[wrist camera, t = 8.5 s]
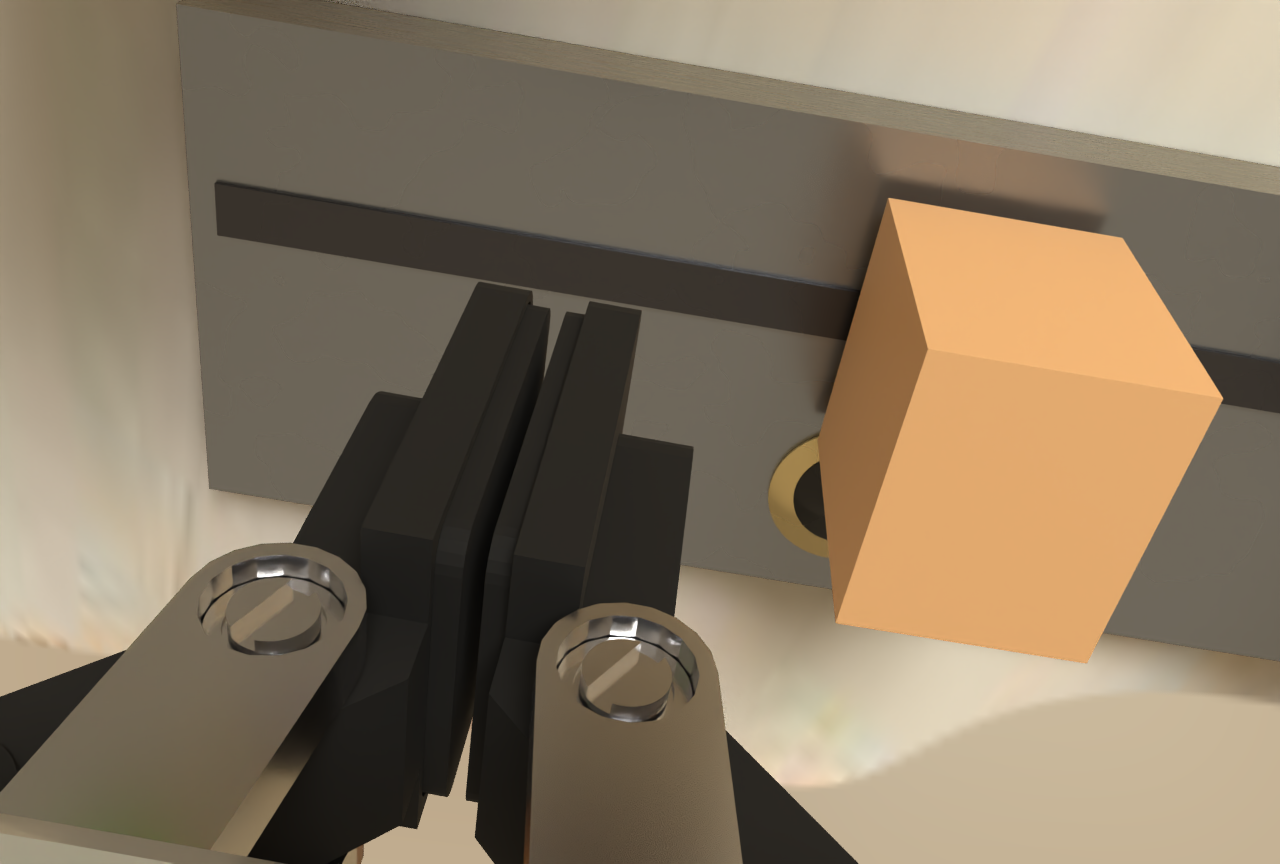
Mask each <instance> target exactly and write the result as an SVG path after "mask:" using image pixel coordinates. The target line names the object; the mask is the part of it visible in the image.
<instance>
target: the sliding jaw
mask: <svg viewBox="0 0 1280 864" xmlns="http://www.w3.org/2000/svg"><path fill="white" fill-rule="evenodd" d="M1222 400H1223V397H1222V396H1221V394H1220V392H1219V391H1218V389H1217V388H1216V386H1215V384H1214V383H1213V381H1212V380H1211V378H1210V376H1209V375H1208V373H1207V372H1206V370H1205V368H1204V367H1203V365H1202V364H1201V362H1200V360H1199V359H1198V357H1197V356H1196V354H1195V353H1194V351H1193V349H1192V348H1191V346H1190V345H1189V343H1188V341H1187V340H1186V338H1185V337H1184V335H1183V333H1182V332H1181V330H1180V329H1179V327H1178V325H1177V324H1176V322H1175V321H1174V319H1173V317H1172V316H1171V314H1170V313H1169V311H1168V309H1167V308H1166V306H1165V305H1164V303H1163V302H1162V300H1161V298H1160V297H1159V295H1158V294H1157V292H1156V290H1155V289H1154V287H1153V286H1152V284H1151V282H1150V281H1149V279H1148V278H1147V276H1146V274H1145V273H1144V271H1143V270H1142V268H1141V266H1140V265H1139V263H1138V262H1137V260H1136V259H1135V257H1134V255H1133V254H1132V252H1131V251H1130V249H1129V247H1128V246H1127V244H1126V243H1125V241H1124V239H1123V238H1120V237H1114V236H1109V235H1103V234H1097V233H1091V232H1085V231H1079V230H1074V229H1068V228H1062V227H1056V226H1050V225H1045V224H1039V223H1033V222H1027V221H1021V220H1015V219H1010V218H1004V217H998V216H992V215H986V214H980V213H975V212H969V211H963V210H957V209H951V208H945V207H940V206H934V205H928V204H922V203H916V202H910V201H905V200H899V199H893V198H888V200H887V204H886V207H885V210H884V214H883V217H882V221H881V224H880V228H879V231H878V234H877V238H876V241H875V245H874V248H873V252H872V255H871V259H870V262H869V265H868V269H867V272H866V276H865V279H864V283H863V286H862V290H861V293H860V296H859V300H858V303H857V307H856V310H855V314H854V317H853V320H852V324H851V327H850V331H849V334H848V338H847V341H846V345H845V348H844V351H843V355H842V358H841V362H840V365H839V369H838V372H837V376H836V379H835V382H834V386H833V389H832V393H831V396H830V400H829V403H828V406H827V410H826V413H825V417H824V420H823V424H822V427H821V431H820V434H819V437H818V450H819V460H820V470H821V480H822V491H823V501H824V511H825V521H826V531H827V541H828V551H829V561H830V572H831V582H832V592H833V602H834V612H835V622H836V623H838V624H844V625H850V626H857V627H863V628H869V629H875V630H882V631H888V632H894V633H900V634H907V635H913V636H919V637H925V638H932V639H938V640H944V641H950V642H956V643H963V644H969V645H975V646H981V647H988V648H994V649H1000V650H1006V651H1013V652H1019V653H1025V654H1031V655H1038V656H1044V657H1050V658H1056V659H1062V660H1069V661H1075V662H1081V663H1087V662H1088V660H1089V658H1090V656H1091V654H1092V652H1093V650H1094V648H1095V646H1096V645H1097V643H1098V641H1099V639H1100V637H1101V635H1102V633H1103V631H1104V629H1105V627H1106V625H1107V623H1108V621H1109V619H1110V617H1111V615H1112V614H1113V612H1114V610H1115V608H1116V606H1117V604H1118V602H1119V600H1120V598H1121V596H1122V594H1123V592H1124V590H1125V588H1126V586H1127V584H1128V583H1129V581H1130V579H1131V577H1132V575H1133V573H1134V571H1135V569H1136V567H1137V565H1138V563H1139V561H1140V559H1141V557H1142V555H1143V553H1144V551H1145V550H1146V548H1147V546H1148V544H1149V542H1150V540H1151V538H1152V536H1153V534H1154V532H1155V530H1156V528H1157V526H1158V524H1159V522H1160V520H1161V519H1162V517H1163V515H1164V513H1165V511H1166V509H1167V507H1168V505H1169V503H1170V501H1171V499H1172V497H1173V495H1174V493H1175V491H1176V489H1177V488H1178V486H1179V484H1180V482H1181V480H1182V478H1183V476H1184V474H1185V472H1186V470H1187V468H1188V466H1189V464H1190V462H1191V460H1192V458H1193V457H1194V455H1195V453H1196V451H1197V449H1198V447H1199V445H1200V443H1201V441H1202V439H1203V437H1204V435H1205V433H1206V431H1207V429H1208V427H1209V426H1210V424H1211V422H1212V420H1213V418H1214V416H1215V414H1216V412H1217V410H1218V408H1219V406H1220V404H1221V402H1222Z"/></svg>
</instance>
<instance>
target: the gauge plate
mask: <svg viewBox="0 0 1280 864" xmlns="http://www.w3.org/2000/svg"><path fill="white" fill-rule="evenodd" d="M176 7H177V21H178V36H179V51H180V65H181V80H182V95H183V110H184V124H185V139H186V154H187V168H188V183H189V198H190V213H191V227H192V242H193V257H194V272H195V286H196V301H197V316H198V330H199V345H200V360H201V375H202V389H203V404H204V419H205V434H206V448H207V463H208V478H209V489H214V490H220V491H227V492H233V493H239V494H245V495H251V496H258V497H264V498H270V499H276V500H282V501H289V502H295V503H301V504H307V505H314V504H315V502H316V500H317V498H318V496H319V494H320V493H321V491H322V489H323V487H324V485H325V483H326V481H327V480H328V478H329V476H330V474H331V472H332V470H333V468H334V467H335V465H336V463H337V461H338V459H339V457H340V456H341V454H342V452H343V450H344V448H345V446H346V444H347V443H348V441H349V439H350V437H351V435H352V433H353V431H354V430H355V428H356V426H357V424H358V422H359V420H360V419H361V417H362V415H363V413H364V411H365V409H366V407H367V406H368V404H369V402H370V400H371V399H372V397H373V396H374V395H375V393H377V392H379V391H384V392H390V393H395V394H401V395H407V396H412V397H418V398H423V396H424V394H425V392H426V389H427V387H428V385H429V383H430V381H431V379H432V377H433V375H434V373H435V371H436V368H437V366H438V364H439V362H440V360H441V358H442V356H443V354H444V352H445V349H446V347H447V345H448V343H449V341H450V339H451V337H452V335H453V333H454V331H455V328H456V326H457V324H458V322H459V320H460V318H461V316H462V314H463V312H464V309H465V307H466V305H467V303H468V301H469V299H470V297H471V295H472V293H473V291H474V288H475V286H476V285H477V283H478V282H485V283H491V284H496V285H502V286H508V287H513V288H519V289H525V290H530V291H532V293H533V305H534V306H540V307H546V308H550V310H551V317H550V328H549V337H548V345H547V354H546V363H545V372H544V377H545V374H546V371H547V368H548V365H549V362H550V359H551V356H552V353H553V350H554V347H555V344H556V341H557V338H558V334H559V331H560V328H561V325H562V322H563V319H564V316H565V313H566V312H567V311H568V312H574V313H580V314H585V313H586V310H587V307H588V304H589V301H592V302H598V303H604V304H609V305H615V306H621V307H626V308H632V309H638V310H642V315H641V322H640V328H639V334H638V340H637V347H636V353H635V359H634V365H633V371H632V377H631V383H630V390H629V396H628V402H627V408H626V414H625V420H624V426H623V433H622V434H626V435H632V436H637V437H643V438H648V439H654V440H660V441H665V442H671V443H677V444H682V445H688V446H693V447H694V452H693V462H692V470H691V479H690V487H689V495H688V504H687V512H686V521H685V529H684V538H683V546H682V555H681V563H680V565H685V566H692V567H698V568H704V569H710V570H716V571H723V572H729V573H735V574H741V575H747V576H754V577H760V578H766V579H772V580H778V581H785V582H791V583H797V584H803V585H809V586H816V587H822V588H828V589H832V582H831V572H830V561H829V551H828V541H827V531H826V521H825V511H824V501H823V491H822V480H821V470H820V460H819V450H818V437H819V434H820V431H821V427H822V424H823V420H824V417H825V413H826V410H827V406H828V403H829V400H830V396H831V393H832V389H833V386H834V382H835V379H836V376H837V372H838V369H839V365H840V362H841V358H842V355H843V351H844V348H845V345H846V341H847V338H848V334H849V331H850V327H851V324H852V320H853V317H854V314H855V310H856V307H857V303H858V300H859V296H860V293H861V290H862V286H863V283H864V279H865V276H866V272H867V269H868V265H869V262H870V259H871V255H872V252H873V248H874V245H875V241H876V238H877V234H878V231H879V228H880V224H881V221H882V217H883V214H884V210H885V207H886V204H887V200H888V198H893V199H899V200H905V201H910V202H916V203H922V204H928V205H934V206H940V207H945V208H951V209H957V210H963V211H969V212H975V213H980V214H986V215H992V216H998V217H1004V218H1010V219H1015V220H1021V221H1027V222H1033V223H1039V224H1045V225H1050V226H1056V227H1062V228H1068V229H1074V230H1079V231H1085V232H1091V233H1097V234H1103V235H1109V236H1114V237H1120V238H1123V239H1124V241H1125V243H1126V244H1127V246H1128V247H1129V249H1130V251H1131V252H1132V254H1133V255H1134V257H1135V259H1136V260H1137V262H1138V263H1139V265H1140V266H1141V268H1142V270H1143V271H1144V273H1145V274H1146V276H1147V278H1148V279H1149V281H1150V282H1151V284H1152V286H1153V287H1154V289H1155V290H1156V292H1157V294H1158V295H1159V297H1160V298H1161V300H1162V302H1163V303H1164V305H1165V306H1166V308H1167V309H1168V311H1169V313H1170V314H1171V316H1172V317H1173V319H1174V321H1175V322H1176V324H1177V325H1178V327H1179V329H1180V330H1181V332H1182V333H1183V335H1184V337H1185V338H1186V340H1187V341H1188V343H1189V345H1190V346H1191V348H1192V349H1193V351H1194V353H1195V354H1196V356H1197V357H1198V359H1199V360H1200V362H1201V364H1202V365H1203V367H1204V368H1205V370H1206V372H1207V373H1208V375H1209V376H1210V378H1211V380H1212V381H1213V383H1214V384H1215V386H1216V388H1217V389H1218V391H1219V392H1220V394H1221V396H1222V397H1223V400H1222V402H1221V404H1220V406H1219V408H1218V410H1217V412H1216V414H1215V416H1214V418H1213V420H1212V422H1211V424H1210V426H1209V427H1208V429H1207V431H1206V433H1205V435H1204V437H1203V439H1202V441H1201V443H1200V445H1199V447H1198V449H1197V451H1196V453H1195V455H1194V457H1193V458H1192V460H1191V462H1190V464H1189V466H1188V468H1187V470H1186V472H1185V474H1184V476H1183V478H1182V480H1181V482H1180V484H1179V486H1178V488H1177V489H1176V491H1175V493H1174V495H1173V497H1172V499H1171V501H1170V503H1169V505H1168V507H1167V509H1166V511H1165V513H1164V515H1163V517H1162V519H1161V520H1160V522H1159V524H1158V526H1157V528H1156V530H1155V532H1154V534H1153V536H1152V538H1151V540H1150V542H1149V544H1148V546H1147V548H1146V550H1145V551H1144V553H1143V555H1142V557H1141V559H1140V561H1139V563H1138V565H1137V567H1136V569H1135V571H1134V573H1133V575H1132V577H1131V579H1130V581H1129V583H1128V584H1127V586H1126V588H1125V590H1124V592H1123V594H1122V596H1121V598H1120V600H1119V602H1118V604H1117V606H1116V608H1115V610H1114V612H1113V614H1112V615H1111V617H1110V619H1109V621H1108V623H1107V625H1106V627H1105V629H1104V631H1103V633H1107V634H1113V635H1119V636H1126V637H1132V638H1138V639H1144V640H1150V641H1157V642H1163V643H1169V644H1175V645H1181V646H1188V647H1194V648H1200V649H1206V650H1212V651H1219V652H1225V653H1231V654H1237V655H1243V656H1250V657H1256V658H1262V659H1268V660H1274V661H1280V167H1275V166H1270V165H1264V164H1258V163H1253V162H1247V161H1241V160H1235V159H1230V158H1224V157H1218V156H1212V155H1207V154H1201V153H1195V152H1189V151H1184V150H1178V149H1172V148H1166V147H1161V146H1155V145H1149V144H1143V143H1138V142H1132V141H1126V140H1120V139H1115V138H1109V137H1103V136H1097V135H1092V134H1086V133H1080V132H1074V131H1069V130H1063V129H1057V128H1052V127H1046V126H1040V125H1034V124H1029V123H1023V122H1017V121H1011V120H1006V119H1000V118H994V117H988V116H983V115H977V114H971V113H965V112H960V111H954V110H948V109H942V108H937V107H931V106H925V105H919V104H914V103H908V102H902V101H896V100H891V99H885V98H879V97H873V96H868V95H862V94H856V93H850V92H845V91H839V90H833V89H828V88H822V87H816V86H810V85H805V84H799V83H793V82H787V81H782V80H776V79H770V78H764V77H759V76H753V75H747V74H741V73H736V72H730V71H724V70H718V69H713V68H707V67H701V66H695V65H690V64H684V63H678V62H672V61H667V60H661V59H655V58H649V57H644V56H638V55H632V54H627V53H621V52H615V51H609V50H604V49H598V48H592V47H586V46H581V45H575V44H569V43H563V42H558V41H552V40H546V39H540V38H535V37H529V36H523V35H517V34H512V33H506V32H500V31H494V30H489V29H483V28H477V27H471V26H466V25H460V24H454V23H448V22H443V21H437V20H431V19H425V18H420V17H414V16H408V15H403V14H397V13H391V12H385V11H380V10H374V9H368V8H362V7H357V6H351V5H345V4H339V3H334V2H328V1H322V0H181V1H180V2H178V3H177V4H176Z"/></svg>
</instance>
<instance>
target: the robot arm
mask: <svg viewBox="0 0 1280 864" xmlns="http://www.w3.org/2000/svg"><path fill="white" fill-rule="evenodd" d="M641 315H642V310H638V309H632V308H626V307H621V306H615V305H609V304H604V303H598V302H592V301H589V304H588V307H587V310H586V313H585V314H580V313H574V312H568V311H567V312H566V313H565V316H564V319H563V322H562V325H561V328H560V331H559V334H558V338H557V341H556V344H555V347H554V350H553V353H552V356H551V359H550V362H549V365H548V368H547V371H546V374H545V377H544V372H545V363H546V354H547V345H548V337H549V328H550V317H551V310H550V308H546V307H540V306H534V305H533V293H532V291H530V290H525V289H519V288H513V287H508V286H502V285H496V284H491V283H485V282H478V283H477V285H476V286H475V288H474V291H473V293H472V295H471V297H470V299H469V301H468V303H467V305H466V307H465V309H464V312H463V314H462V316H461V318H460V320H459V322H458V324H457V326H456V328H455V331H454V333H453V335H452V337H451V339H450V341H449V343H448V345H447V347H446V349H445V352H444V354H443V356H442V358H441V360H440V362H439V364H438V366H437V368H436V371H435V373H434V375H433V377H432V379H431V381H430V383H429V385H428V387H427V389H426V392H425V394H424V396H423V398H418V397H412V396H407V395H401V394H395V393H390V392H384V391H379V392H377V393H375V395H374V396H373V397H372V399H371V400H370V402H369V404H368V406H367V407H366V409H365V411H364V413H363V415H362V417H361V419H360V420H359V422H358V424H357V426H356V428H355V430H354V431H353V433H352V435H351V437H350V439H349V441H348V443H347V444H346V446H345V448H344V450H343V452H342V454H341V456H340V457H339V459H338V461H337V463H336V465H335V467H334V468H333V470H332V472H331V474H330V476H329V478H328V480H327V481H326V483H325V485H324V487H323V489H322V491H321V493H320V494H319V496H318V498H317V500H316V502H315V504H314V505H313V507H312V509H311V511H310V513H309V515H308V517H307V518H306V520H305V522H304V524H303V526H302V528H301V530H300V531H299V533H298V535H297V537H296V539H295V541H294V542H293V543H271V544H259V545H255V546H250V547H246V548H242V549H238V550H234V551H232V552H230V553H228V554H225V555H223V556H221V557H219V558H217V559H215V560H213V561H211V562H209V563H208V564H207V565H205V566H204V567H203V568H202V569H201V570H200V571H198V572H197V573H196V574H195V575H194V576H192V577H191V578H190V579H189V580H188V581H187V583H186V584H185V585H184V586H183V587H182V588H181V589H180V590H179V592H178V593H177V594H176V595H175V596H174V597H173V598H172V599H171V601H170V602H169V603H168V604H167V605H166V606H165V607H164V608H163V610H162V611H161V612H160V613H159V614H158V615H157V616H156V617H155V619H154V620H153V621H152V622H151V623H150V624H149V625H148V626H147V628H146V629H145V630H144V631H143V632H142V633H141V634H140V636H139V637H138V638H137V639H136V640H135V641H134V642H133V643H132V645H131V646H130V647H129V648H128V649H127V650H125V651H122V652H120V653H117V654H114V655H112V656H109V657H106V658H104V659H101V660H98V661H96V662H93V663H90V664H88V665H85V666H82V667H80V668H77V669H74V670H71V671H69V672H66V673H63V674H61V675H58V676H55V677H52V678H50V679H47V680H45V681H42V682H39V683H36V684H34V685H31V686H28V687H26V688H23V689H20V690H17V691H15V692H12V693H9V694H7V695H4V696H1V697H0V864H361V860H362V858H363V856H364V855H363V854H364V853H363V852H364V844H365V843H367V842H369V841H371V840H373V839H375V838H377V837H379V836H380V835H382V834H384V833H386V832H388V831H390V830H392V829H394V828H396V827H398V826H403V827H408V828H414V829H417V827H418V825H419V822H420V818H421V815H422V812H423V809H424V805H425V802H426V799H427V796H428V794H434V795H439V796H445V797H448V796H449V794H450V791H451V788H452V785H453V782H454V778H455V775H456V772H457V768H458V765H459V761H460V758H461V754H462V751H463V748H464V744H465V741H466V738H467V734H468V731H469V727H470V724H471V720H472V717H473V720H472V732H471V744H470V755H469V766H468V777H467V788H466V800H467V801H473V802H478V810H477V820H476V831H475V838H476V840H477V841H478V842H479V844H480V845H481V846H482V847H483V849H484V850H485V852H486V853H487V854H488V856H489V857H490V858H491V860H492V861H493V862H494V864H858V863H857V862H856V861H855V860H854V859H853V858H852V857H851V856H850V855H849V854H848V853H847V852H846V851H845V850H844V849H843V848H842V847H841V846H840V845H839V844H838V842H837V841H835V840H834V838H833V837H832V836H831V835H830V834H828V832H827V831H826V830H824V828H823V827H822V826H821V825H820V824H819V823H818V822H816V820H815V819H814V818H813V817H811V815H810V814H809V813H808V812H807V811H806V810H805V809H804V808H803V807H801V805H799V803H798V802H797V801H796V800H795V799H794V798H793V797H792V796H791V795H790V794H788V792H787V791H786V790H785V789H784V788H783V787H782V786H781V785H780V784H779V783H778V782H777V781H776V780H775V779H774V778H773V777H772V776H771V775H770V774H769V773H768V772H767V771H766V770H765V769H764V768H763V767H762V766H761V765H760V764H759V763H758V762H757V761H756V760H755V759H754V758H753V757H752V756H751V755H750V754H749V753H748V752H747V751H746V750H745V749H744V748H743V747H742V746H741V745H740V744H739V743H738V742H737V741H736V740H735V739H734V738H733V737H732V736H731V735H730V734H729V733H728V732H727V731H726V730H725V722H724V714H723V706H722V699H721V691H720V683H719V675H718V671H717V668H716V665H715V662H714V659H713V656H712V653H711V651H710V649H709V648H708V647H707V646H706V644H705V643H704V642H703V640H702V639H701V638H700V637H699V635H698V634H697V633H696V632H695V631H693V630H692V629H691V628H689V627H688V626H687V625H685V624H684V623H683V622H681V621H680V620H679V619H677V618H675V617H674V614H675V605H676V597H677V588H678V580H679V571H680V563H681V555H682V546H683V538H684V529H685V521H686V512H687V504H688V495H689V487H690V479H691V470H692V462H693V452H694V447H693V446H688V445H682V444H677V443H671V442H665V441H660V440H654V439H648V438H643V437H637V436H632V435H626V434H622V433H623V426H624V420H625V414H626V408H627V402H628V396H629V390H630V383H631V377H632V371H633V365H634V359H635V353H636V347H637V340H638V334H639V328H640V322H641Z"/></svg>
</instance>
